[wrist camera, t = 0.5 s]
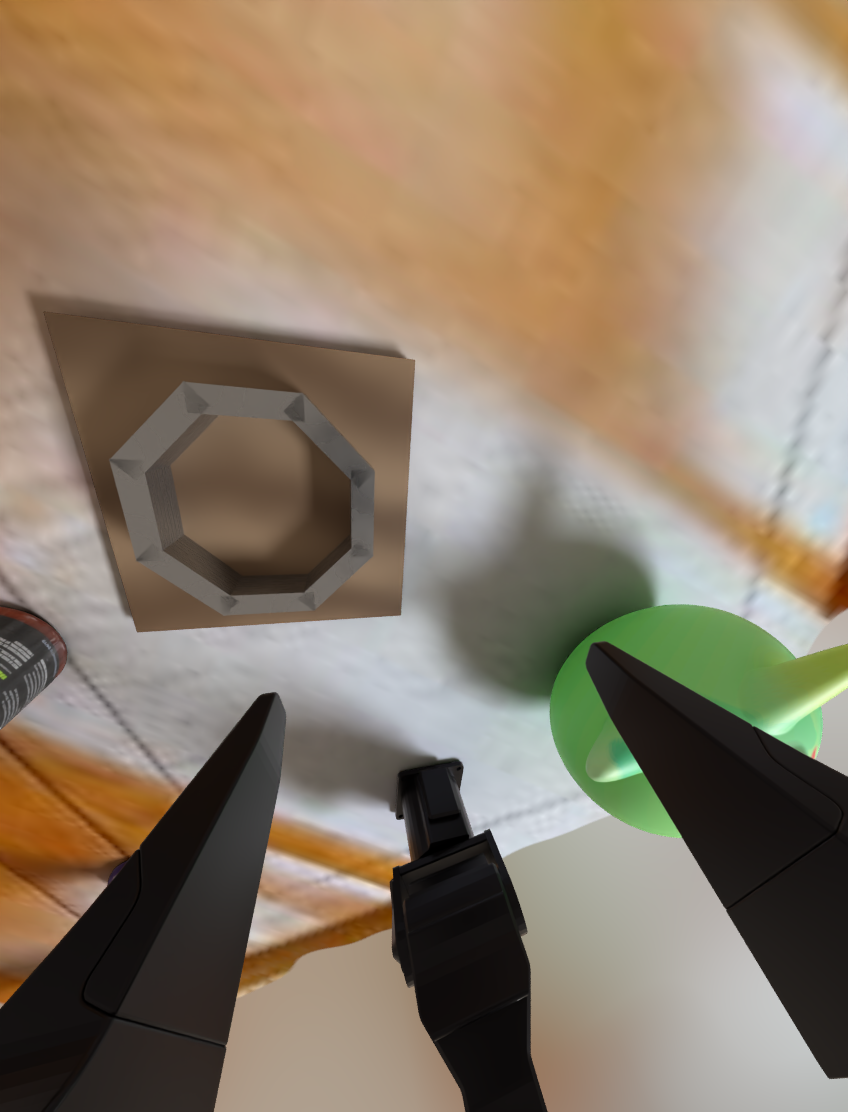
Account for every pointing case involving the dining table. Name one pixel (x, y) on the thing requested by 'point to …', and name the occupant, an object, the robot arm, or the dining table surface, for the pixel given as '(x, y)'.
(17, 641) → the supplement bottle
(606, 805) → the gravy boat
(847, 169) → the dining table surface
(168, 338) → the stand
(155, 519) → the ring
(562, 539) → the dining table surface
